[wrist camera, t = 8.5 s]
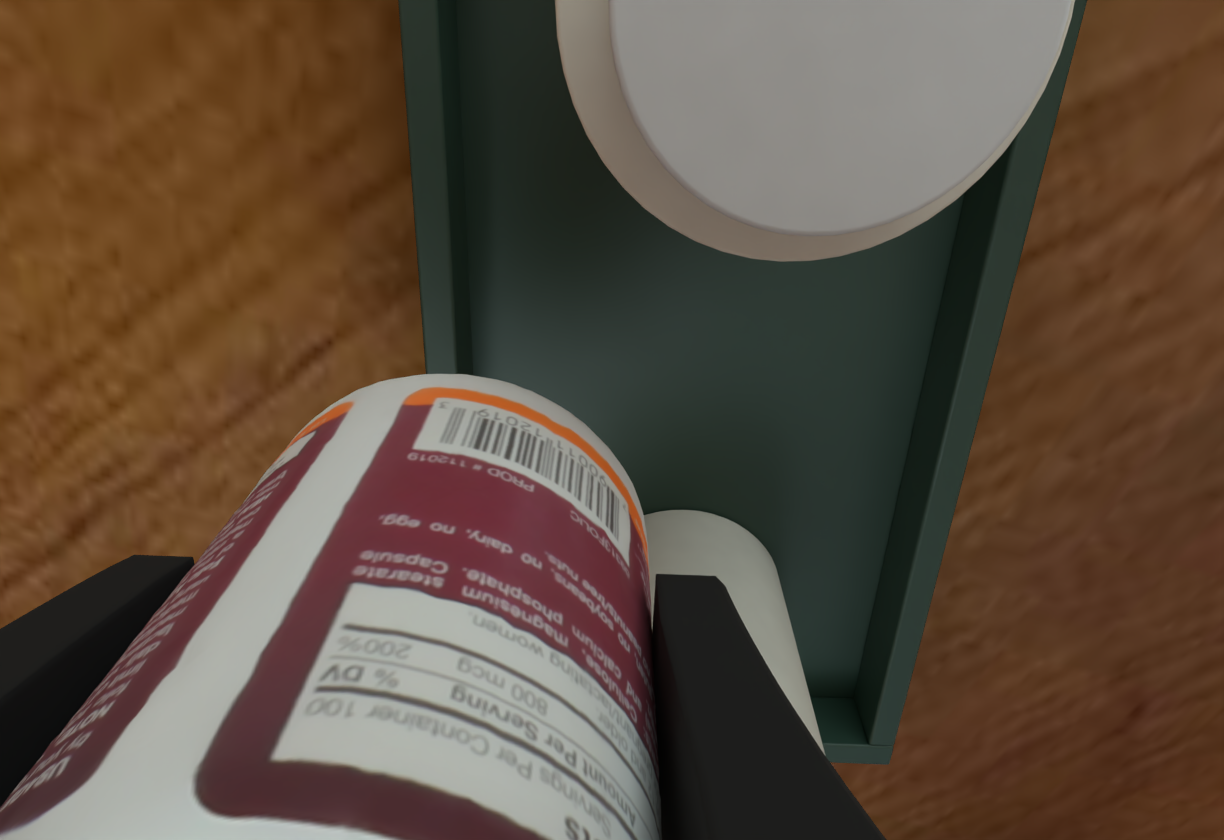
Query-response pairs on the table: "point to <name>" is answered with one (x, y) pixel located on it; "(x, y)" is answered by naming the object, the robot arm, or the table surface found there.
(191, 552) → the table surface
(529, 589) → the pill bottle
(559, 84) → the tray
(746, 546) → the pale bottle far
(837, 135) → the pale bottle near
